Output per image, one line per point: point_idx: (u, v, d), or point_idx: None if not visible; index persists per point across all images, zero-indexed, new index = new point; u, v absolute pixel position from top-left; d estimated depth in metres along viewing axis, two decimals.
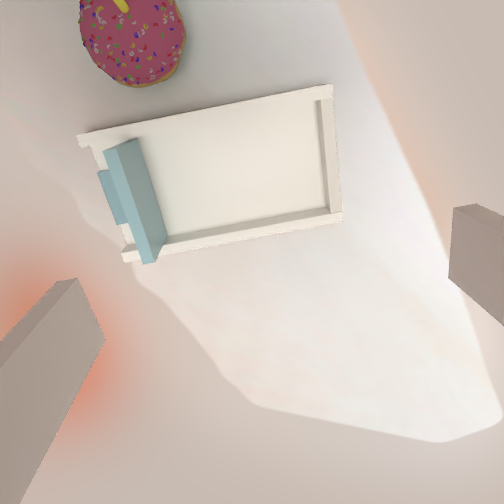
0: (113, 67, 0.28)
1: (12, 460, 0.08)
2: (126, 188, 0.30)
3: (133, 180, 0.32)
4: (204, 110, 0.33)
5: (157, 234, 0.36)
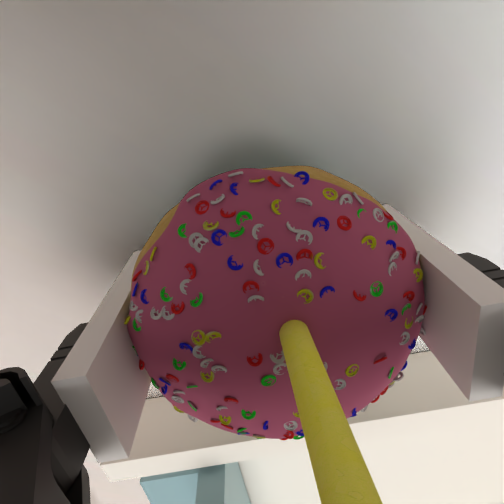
0: (223, 429, 0.10)
1: (130, 391, 0.09)
2: None
3: None
4: (398, 417, 0.14)
5: None
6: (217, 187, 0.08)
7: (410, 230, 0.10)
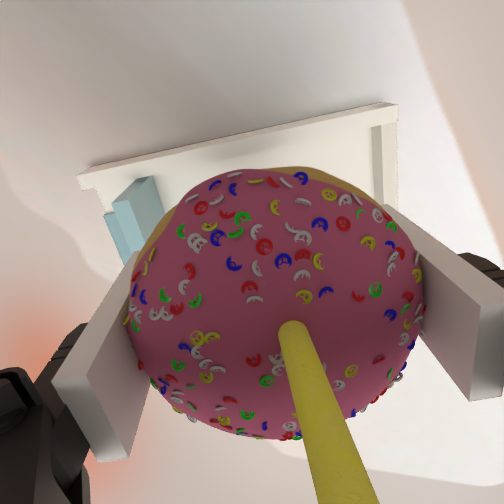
0: (222, 429, 0.10)
1: (130, 391, 0.09)
2: (142, 246, 0.24)
3: (149, 233, 0.25)
4: (235, 141, 0.26)
5: None
6: (216, 187, 0.08)
7: (410, 230, 0.10)
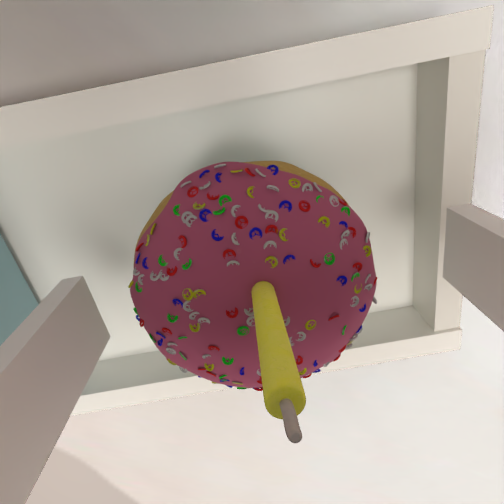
0: (208, 378, 0.12)
1: (21, 454, 0.08)
2: None
3: None
4: (114, 87, 0.11)
5: None
6: (205, 176, 0.10)
7: None
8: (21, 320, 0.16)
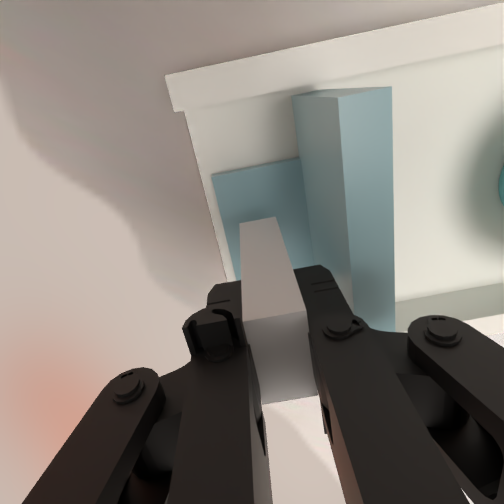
0: None
1: None
2: (383, 232, 0.09)
3: None
4: None
5: None
6: None
7: (274, 243, 0.11)
8: None
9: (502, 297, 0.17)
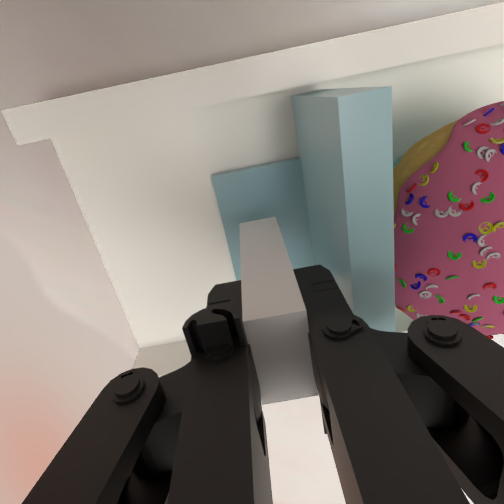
0: None
1: None
2: (382, 232, 0.09)
3: None
4: (367, 34, 0.11)
5: None
6: (491, 114, 0.10)
7: (274, 243, 0.11)
8: None
9: None
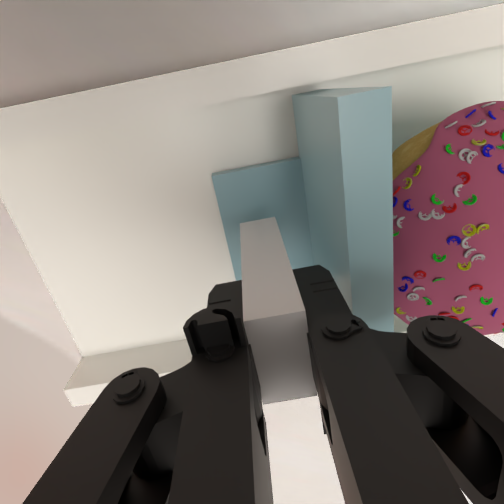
0: None
1: None
2: (381, 232, 0.09)
3: None
4: (269, 55, 0.11)
5: None
6: (472, 115, 0.10)
7: (273, 243, 0.11)
8: None
9: None
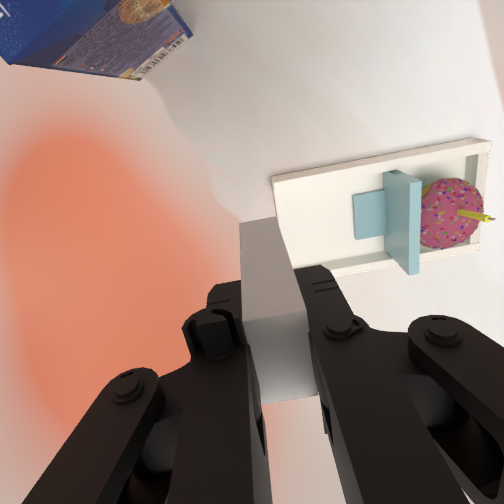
0: (432, 242, 0.40)
1: None
2: (418, 213, 0.37)
3: None
4: (382, 162, 0.39)
5: None
6: (441, 182, 0.38)
7: (274, 243, 0.11)
8: None
9: (388, 254, 0.46)
